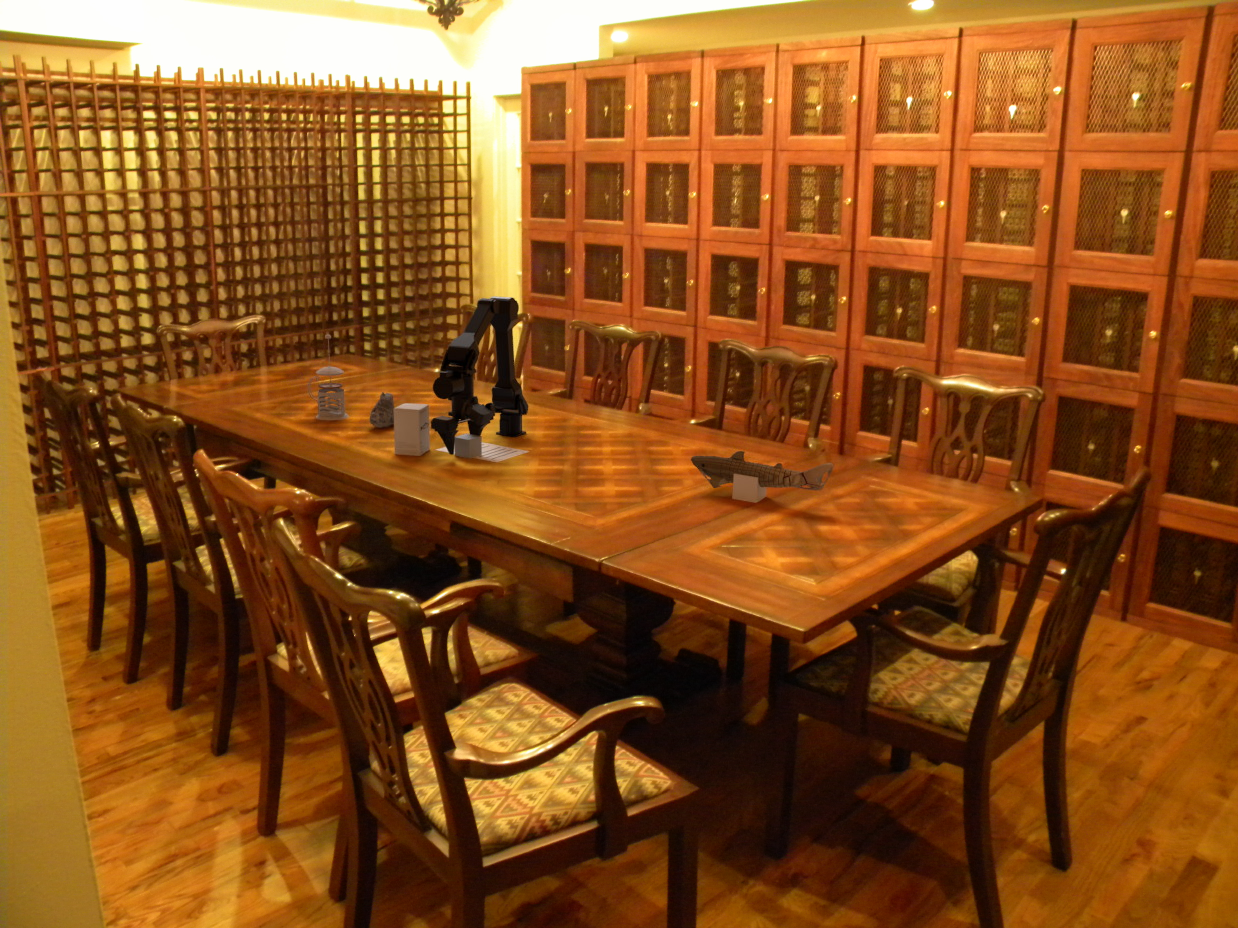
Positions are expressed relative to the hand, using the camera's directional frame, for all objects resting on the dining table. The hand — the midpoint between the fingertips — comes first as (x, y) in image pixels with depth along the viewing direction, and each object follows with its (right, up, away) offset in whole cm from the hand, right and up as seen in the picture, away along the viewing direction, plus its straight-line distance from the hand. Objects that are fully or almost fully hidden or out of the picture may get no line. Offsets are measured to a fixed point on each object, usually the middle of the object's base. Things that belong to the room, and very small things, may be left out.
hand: (463, 451), depth 279 cm
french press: (-47, +11, +43) cm, 64 cm away
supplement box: (-14, -1, +4) cm, 15 cm away
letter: (+4, 0, +7) cm, 8 cm away
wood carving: (+73, -12, -30) cm, 80 cm away
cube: (+1, -1, +2) cm, 2 cm away
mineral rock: (-29, +7, +33) cm, 44 cm away
